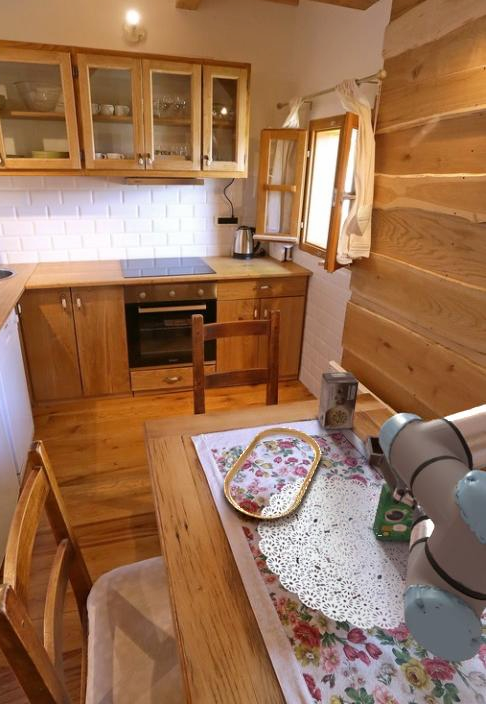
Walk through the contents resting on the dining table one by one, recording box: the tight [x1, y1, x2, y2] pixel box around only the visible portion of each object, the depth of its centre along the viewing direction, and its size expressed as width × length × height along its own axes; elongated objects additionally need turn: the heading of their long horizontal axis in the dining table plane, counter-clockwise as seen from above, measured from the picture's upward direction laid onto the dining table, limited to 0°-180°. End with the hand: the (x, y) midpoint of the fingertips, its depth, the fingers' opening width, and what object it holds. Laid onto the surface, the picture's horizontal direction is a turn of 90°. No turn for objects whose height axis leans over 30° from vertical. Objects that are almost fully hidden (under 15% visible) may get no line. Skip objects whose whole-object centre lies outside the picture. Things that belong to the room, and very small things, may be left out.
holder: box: [364, 434, 384, 466], centre depth 109 cm, size 9×14×4 cm, turn 77°
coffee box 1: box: [317, 371, 360, 430], centre depth 121 cm, size 9×6×16 cm
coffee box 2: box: [372, 482, 413, 542], centre depth 84 cm, size 8×3×13 cm, turn 87°
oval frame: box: [223, 427, 322, 520], centre depth 104 cm, size 19×35×2 cm, turn 151°
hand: (440, 467), depth 74 cm, fingers open, 13 cm apart
